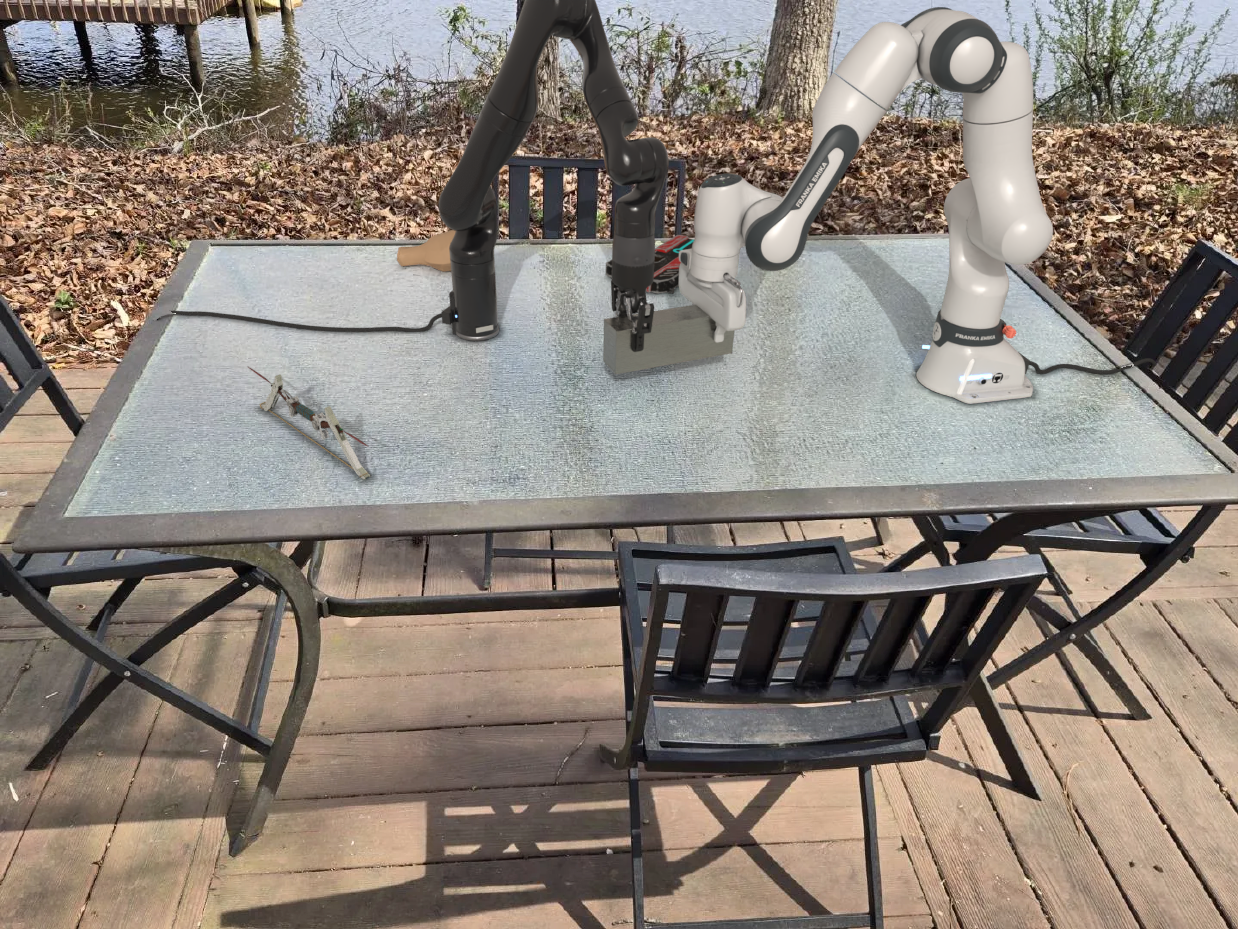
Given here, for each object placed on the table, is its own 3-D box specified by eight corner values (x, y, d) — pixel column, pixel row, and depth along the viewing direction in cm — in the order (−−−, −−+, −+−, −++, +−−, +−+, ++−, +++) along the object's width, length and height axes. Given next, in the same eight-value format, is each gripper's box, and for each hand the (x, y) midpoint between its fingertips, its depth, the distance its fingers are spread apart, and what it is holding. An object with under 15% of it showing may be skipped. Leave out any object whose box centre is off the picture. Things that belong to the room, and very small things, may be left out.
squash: (475, 275, 220) (467, 243, 214) (398, 282, 222) (387, 251, 216) (480, 253, 228) (473, 221, 222) (405, 260, 230) (396, 229, 224)
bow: (380, 482, 144) (372, 430, 139) (371, 487, 143) (362, 435, 137) (261, 400, 165) (250, 352, 160) (252, 403, 164) (240, 355, 159)
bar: (615, 374, 163) (616, 331, 158) (603, 361, 167) (603, 318, 162) (732, 353, 171) (736, 311, 167) (717, 341, 176) (721, 300, 171)
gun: (600, 263, 216) (668, 282, 208) (660, 227, 238) (724, 243, 230) (599, 280, 219) (667, 299, 211) (659, 243, 241) (723, 259, 233)
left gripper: (670, 268, 150) (665, 356, 160) (635, 241, 161) (632, 325, 171) (631, 273, 148) (627, 363, 157) (597, 245, 159) (596, 331, 168)
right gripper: (758, 282, 156) (750, 352, 163) (703, 244, 171) (698, 310, 179) (727, 287, 154) (720, 358, 161) (674, 248, 169) (670, 315, 177)
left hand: (630, 343), depth 164 cm, fingers closed on bar, 6 cm apart
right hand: (708, 332), depth 170 cm, fingers closed on bar, 6 cm apart
